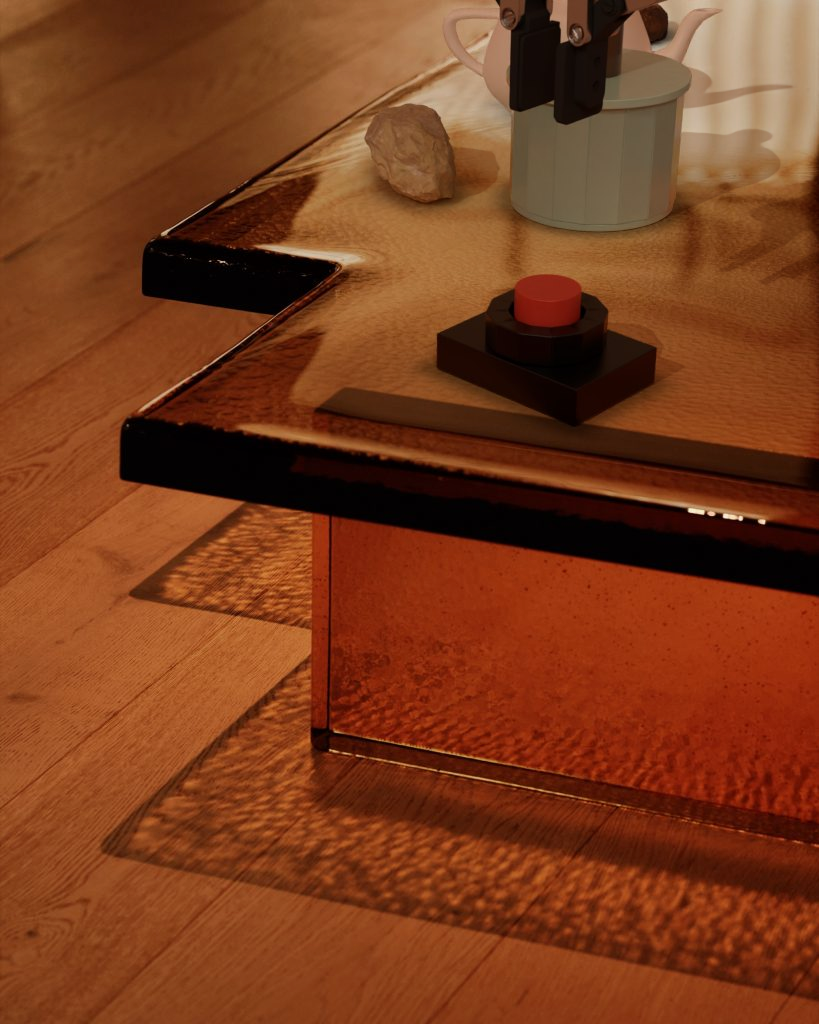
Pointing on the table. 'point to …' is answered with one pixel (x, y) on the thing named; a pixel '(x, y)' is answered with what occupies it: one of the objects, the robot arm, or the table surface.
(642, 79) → the lid
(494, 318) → the button block
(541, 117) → the jar
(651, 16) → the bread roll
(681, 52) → the teapot
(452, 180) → the stone tool
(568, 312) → the button
